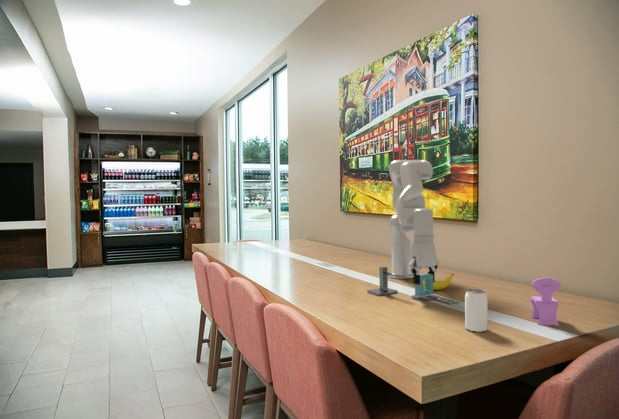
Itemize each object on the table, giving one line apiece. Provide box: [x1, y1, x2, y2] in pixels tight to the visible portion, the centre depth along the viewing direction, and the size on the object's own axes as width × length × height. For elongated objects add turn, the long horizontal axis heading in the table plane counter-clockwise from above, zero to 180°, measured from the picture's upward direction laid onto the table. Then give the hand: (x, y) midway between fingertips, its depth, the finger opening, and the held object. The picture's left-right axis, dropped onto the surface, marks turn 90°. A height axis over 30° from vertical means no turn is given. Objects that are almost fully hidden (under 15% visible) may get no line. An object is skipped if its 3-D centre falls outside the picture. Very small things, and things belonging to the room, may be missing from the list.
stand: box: [366, 265, 405, 297], centre depth 186 cm, size 10×18×11 cm, turn 28°
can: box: [464, 288, 488, 333], centre depth 138 cm, size 6×6×12 cm
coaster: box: [411, 294, 438, 302], centre depth 179 cm, size 10×10×1 cm
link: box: [414, 272, 434, 296], centre depth 179 cm, size 7×3×8 cm, turn 119°
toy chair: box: [530, 276, 561, 327], centre depth 144 cm, size 8×9×15 cm
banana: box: [423, 273, 455, 291], centre depth 193 cm, size 3×19×6 cm, turn 111°
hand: (424, 282), depth 179 cm, fingers closed on link, 7 cm apart
